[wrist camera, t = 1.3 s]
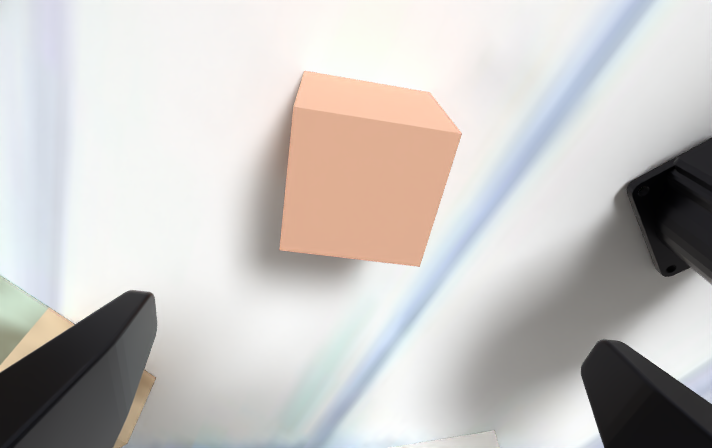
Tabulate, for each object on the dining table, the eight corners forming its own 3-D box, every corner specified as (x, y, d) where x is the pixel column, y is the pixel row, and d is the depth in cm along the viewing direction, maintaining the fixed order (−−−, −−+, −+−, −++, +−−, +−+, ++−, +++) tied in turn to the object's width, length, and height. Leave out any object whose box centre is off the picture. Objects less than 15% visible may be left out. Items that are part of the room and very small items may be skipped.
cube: (429, 91, 17) (461, 133, 12) (400, 200, 19) (419, 266, 15) (304, 70, 16) (293, 106, 12) (292, 185, 18) (279, 250, 14)
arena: (435, 212, 19) (457, 264, 16) (133, 391, 25) (101, 457, 22) (11, -398, 10) (-158, -590, 7) (-323, 110, 16) (-507, 150, 12)
